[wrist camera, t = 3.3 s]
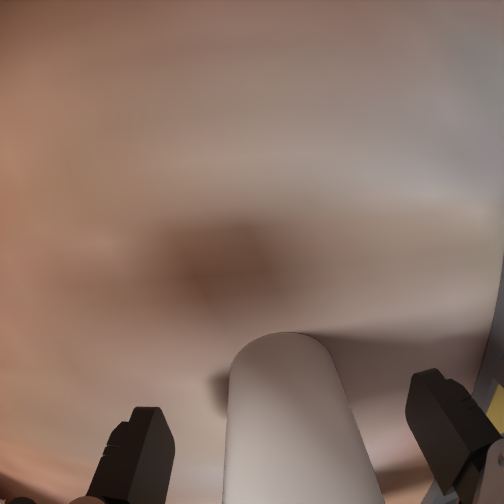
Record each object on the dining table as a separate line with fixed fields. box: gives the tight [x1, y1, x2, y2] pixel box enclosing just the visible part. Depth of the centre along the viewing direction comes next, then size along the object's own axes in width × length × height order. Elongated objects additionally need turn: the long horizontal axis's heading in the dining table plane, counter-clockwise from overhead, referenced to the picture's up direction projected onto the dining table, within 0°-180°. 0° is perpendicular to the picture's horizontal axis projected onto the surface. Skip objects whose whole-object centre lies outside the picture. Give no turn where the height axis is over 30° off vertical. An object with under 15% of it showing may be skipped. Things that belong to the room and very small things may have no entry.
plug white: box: [222, 332, 385, 504], centre depth 7 cm, size 4×4×7 cm
